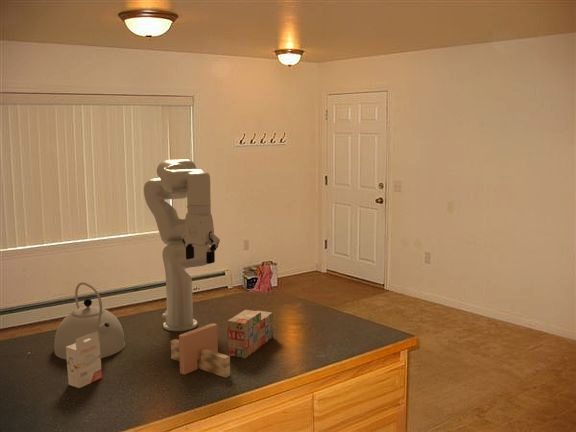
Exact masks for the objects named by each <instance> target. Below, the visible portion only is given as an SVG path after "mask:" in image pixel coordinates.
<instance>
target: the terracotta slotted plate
mask: <svg viewBox="0 0 576 432" xmlns="http://www.w3.org/2000/svg"><path fill="white" fill-rule="evenodd" d="M178 340H179V354H180V361H179V373H180V374H182V375H186V374H189V373H192V372H194V371H196V370H198V369H199V368H198V365H197V360H198V359H201V350H203V349H208V350H211V351H214V352H217V353H219V351H218V350H219V344H218V342H219V340H218V324H217V323H214V322H213V323H209V324H206V325H203V326H200V327H198V328H194V329H191V330H188V331H185V332H183V333H181V334H179V335H178Z"/></svg>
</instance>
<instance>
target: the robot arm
mask: <svg viewBox="0 0 576 432" xmlns="http://www.w3.org/2000/svg"><path fill="white" fill-rule="evenodd" d="M156 175H157V177H158V178H157V177H156V178H151V179H149V180H147V181H146V182H145V183H144V185H143V195H144V196H143V197H144V200H145V203H146V206H147V207H148V209H149V210H150V212H151V213H152V215H153V216H154V219H155V222H156V226H157V229H158V232H159V236H160V238H161V241H162V242H163V244H164V245H166V246H164V248H163V249H162V253H161V254H162V255H161V257H162V261H163V266H164V272H165V289H166V290H165V291H166V292H165V294H166V310H165V311H164V313H162V314H161V316H162V318H163V319H164V318H165V321H164V322H163V323H162V325H163V326H162V327H163V328H164V329H165V330H167V331H170V332H187V331H191V330H194V329H196V327H197V326H198V321H197V320H196V319H195V318H194V305H193V304H194V301H193V279H192V276H191V275H190V274H189V273H188V272H187V271H186V269H189V268H196V267H204V266H207V265H210V264H215V260H216V259H215V258H216V257H215V255H216V254H215V252H216V251H217V249H218V248H219V244H220V242H221V240H220V238H219V237H218V236H217V235H216V234H215V228H214V227H215V226H214V220H213V214H212V213H211V212H212V208H211V207H212V204H211V201H212V200H211V175H210V173H208V172H207V171H205V170H203V169H202V168H201V169H200V168H197V165H196V164H195V162H194V161H193V160H190V159H166V160H163V161H161V162H160V163H159V164H158V166H157V168H156ZM182 199H187V200H186V203H187V204H186V208H187V213H185V218H179V215H178V212H177V210H176V208H174V207H173V206H172V204H170V203H168V202H167V201H165V200H182Z"/></svg>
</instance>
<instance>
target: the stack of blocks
mask: <svg viewBox="0 0 576 432" xmlns="http://www.w3.org/2000/svg"><path fill="white" fill-rule="evenodd" d="M273 319H274V318H273V312H270V311H263V310H249V309H244V310H243V311H241V312H239V313H238V314H236V315H234V316H233V317H231V318H230V319H227V356H228V355H231V356H230V357H232V356H237V357H236V358H238V357H242V358H241V359H244V358H245V357H246V358H248V357H249V356H251V355H252V354H253V353H254V352H256V351H257V350H258V349H259V348H261V347H262V346H263V345H265V344H266V343H267V342H269V341H270V340H271V339H273V338H274V321H273ZM272 337H273V338H272ZM269 339H270V340H269ZM268 340H269V341H268ZM265 342H266V343H265ZM262 344H263V345H262ZM261 345H262V346H261ZM260 346H261V347H260ZM258 347H259V348H258ZM257 348H258V349H257ZM256 349H257V350H256ZM255 350H256V351H255ZM253 351H254V352H253ZM252 352H253V353H252ZM251 353H252V354H251ZM248 355H249V356H248ZM246 358H245V359H246Z"/></svg>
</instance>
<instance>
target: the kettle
mask: <svg viewBox="0 0 576 432" xmlns="http://www.w3.org/2000/svg"><path fill="white" fill-rule="evenodd" d="M80 286H86V287H88V288H90V289H91V290H92V291H93V292H94V294H95V295H96V297H97V299H98V305H99V306H97V305H95V306H92V304H93V301H92V300H91V299H90V298H85V299H84V301H83V305H84V307H81V306H80V304H79V300H78V291H79V288H80ZM74 301H75V306H76V309H75V310H73V311H71V312H70V313H68V314H67V316H65V317H64V318H63V320H62V321H61V322H60V324H59V325H58V327H57V329H56V332H55V334H54V347H53V349H54V352H53V353H54V355H55V356H56V357H58V358H60V359H62V360H66V361H67V357H66V347H67V346H70V345H72V344H75V343H76V342H75V340H76V339H78V338H81V337H83V336H86V335H88V334H91V333H94V332H96V331H97V332H98V336H99V341H100V355H101V359H103V358H106V357H107V358H108V357H110V356H112V355H114V354H115V355H116V354H117V353H119V352H121V351H122V350H123V349H124V348H125V346H126V342H125V333H124V330H123V326H122V324H121V322H120V320H119V319H118V318H117V317H116V315H114V314H113V313H112V312H110V311H109V310H107V309H106V308H103V303H102V299H101V295H100V294H99V292H98V290H97V289H96V288H95V287H94V286H93V285H91V284H90V283H88V282H85V281H84V282H83V281H82V282H79V283H78V284H77V285H76V287H75V291H74ZM86 339H88V338H86ZM90 339H91V338H90Z"/></svg>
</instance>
